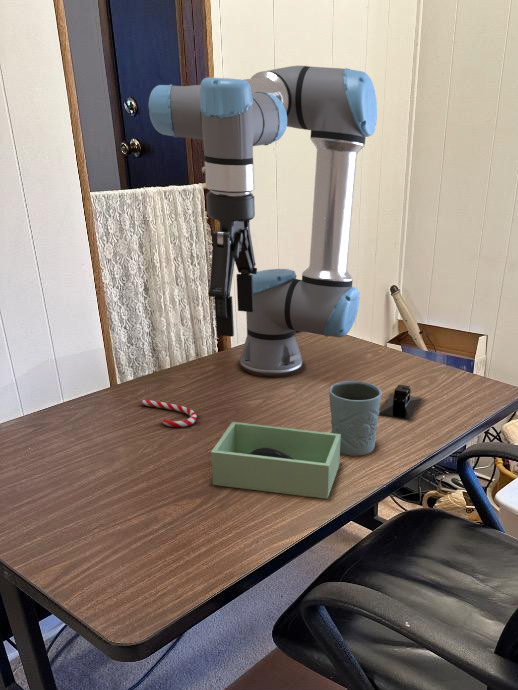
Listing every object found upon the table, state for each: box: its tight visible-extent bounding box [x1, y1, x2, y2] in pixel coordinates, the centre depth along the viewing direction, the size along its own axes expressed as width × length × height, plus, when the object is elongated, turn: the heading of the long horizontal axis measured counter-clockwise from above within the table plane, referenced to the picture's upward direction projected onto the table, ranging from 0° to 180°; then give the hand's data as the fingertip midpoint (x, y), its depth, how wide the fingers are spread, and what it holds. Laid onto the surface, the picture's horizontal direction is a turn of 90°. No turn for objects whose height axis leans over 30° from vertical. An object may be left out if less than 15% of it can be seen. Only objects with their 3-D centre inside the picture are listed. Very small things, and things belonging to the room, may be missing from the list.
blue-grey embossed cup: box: [328, 380, 383, 457], centre depth 136 cm, size 10×10×12 cm
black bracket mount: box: [378, 384, 423, 421], centre depth 156 cm, size 12×7×5 cm, turn 164°
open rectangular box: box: [210, 421, 341, 500], centre depth 125 cm, size 13×21×7 cm, turn 83°
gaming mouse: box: [249, 448, 294, 460], centre depth 125 cm, size 6×15×4 cm, turn 73°
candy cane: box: [141, 399, 198, 428], centre depth 144 cm, size 8×1×15 cm
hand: (236, 322), depth 121 cm, fingers open, 13 cm apart
